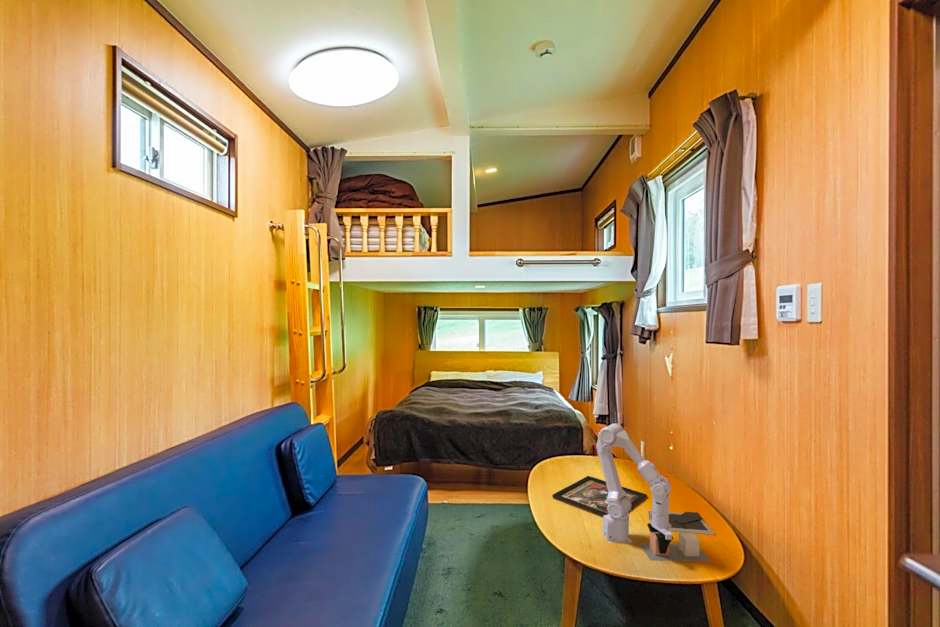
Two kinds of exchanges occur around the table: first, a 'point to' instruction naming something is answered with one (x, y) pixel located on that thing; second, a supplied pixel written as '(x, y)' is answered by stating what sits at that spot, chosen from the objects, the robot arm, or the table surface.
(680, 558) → the grey board
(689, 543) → the tan block
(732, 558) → the table surface
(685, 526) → the picture frame
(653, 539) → the terracotta block
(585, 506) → the framed painting
